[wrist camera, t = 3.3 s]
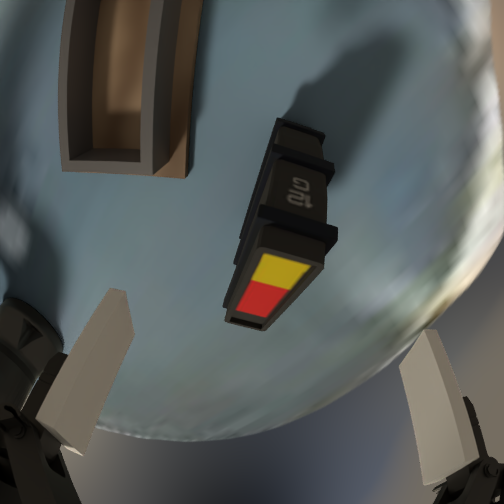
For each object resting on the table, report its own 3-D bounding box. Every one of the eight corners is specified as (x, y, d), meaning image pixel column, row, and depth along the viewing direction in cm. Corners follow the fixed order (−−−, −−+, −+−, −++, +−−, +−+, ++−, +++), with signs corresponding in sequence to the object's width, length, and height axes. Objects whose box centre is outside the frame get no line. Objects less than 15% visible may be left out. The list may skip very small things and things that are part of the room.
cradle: (85, 158, 25) (62, 171, 21) (95, -16, 15) (71, -24, 12) (169, 161, 25) (152, 175, 21) (187, -32, 15) (172, -47, 12)
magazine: (334, 97, 20) (337, 263, 12) (285, 200, 31) (262, 339, 23) (288, 81, 20) (251, 238, 12) (251, 190, 31) (216, 328, 23)
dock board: (80, 168, 26) (75, 172, 26) (90, -23, 15) (85, -25, 14) (188, 175, 26) (184, 178, 26) (210, -42, 15) (207, -46, 14)
